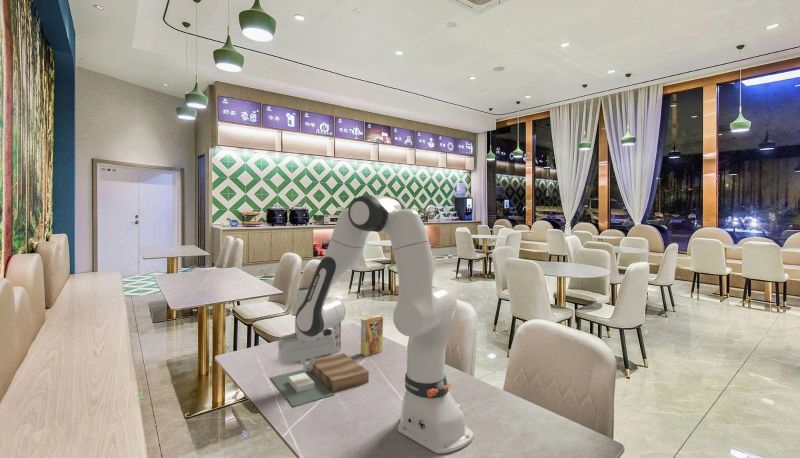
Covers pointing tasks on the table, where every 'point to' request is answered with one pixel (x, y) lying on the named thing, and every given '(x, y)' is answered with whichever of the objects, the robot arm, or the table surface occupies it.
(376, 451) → the table surface
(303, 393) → the mat
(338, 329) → the coffee box
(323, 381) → the block
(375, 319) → the candy box
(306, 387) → the white box
